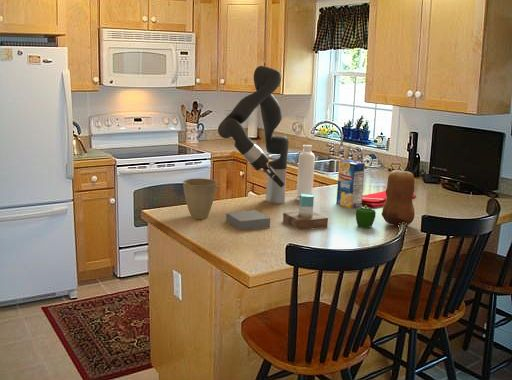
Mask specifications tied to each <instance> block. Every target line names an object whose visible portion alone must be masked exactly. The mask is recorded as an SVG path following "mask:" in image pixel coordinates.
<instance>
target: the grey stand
mask: <svg viewBox="0 0 512 380" xmlns="http://www.w3.org/2000/svg"><path fill="white" fill-rule="evenodd" d="M225 214H226V216H225V222H226V223H228V224H229V225H230V226H232V227H234V228H235V229H237V230H238V231H248V230H249V231H250V230H257V229H266V228H267V229H269V228H271V217H268V216H267V215H265V214H263V213H261V212H259V211H257V210H256V209H253V210H251V209H250V210H241V211H231V212H230V211H229V212H226V213H225Z"/></svg>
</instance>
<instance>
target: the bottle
mask: <svg viewBox="0 0 512 380" xmlns="http://www.w3.org/2000/svg"><path fill="white" fill-rule="evenodd" d="M312 147H313V145H312V144H303V145H302V152H300V153H299V154H298V163H297V164H298V165H297V177H296V178H297V179H296V180H297V181H296V198H295V200H297V201H300V194H312V195H313V190H314V177H315V176H314V175H315V162H316V161H315V159H316V158H315V157H316V156H315V154H314V153H313V151H312Z"/></svg>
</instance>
